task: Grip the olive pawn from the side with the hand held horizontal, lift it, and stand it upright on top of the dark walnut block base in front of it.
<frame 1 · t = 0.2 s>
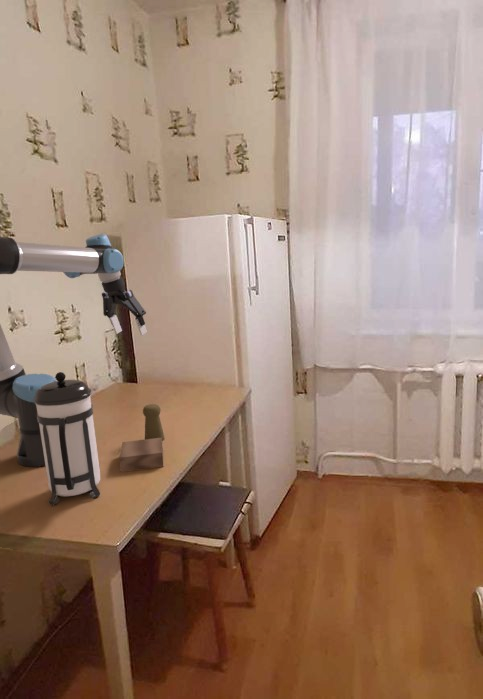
hand: (131, 332, 186), 27 cm above the table, tool tilted 15°, fingers open, 13 cm apart
walnut base: (142, 460, 138), on the table
coffee press: (77, 494, 121), on the table
olive pawn: (154, 440, 153), on the table
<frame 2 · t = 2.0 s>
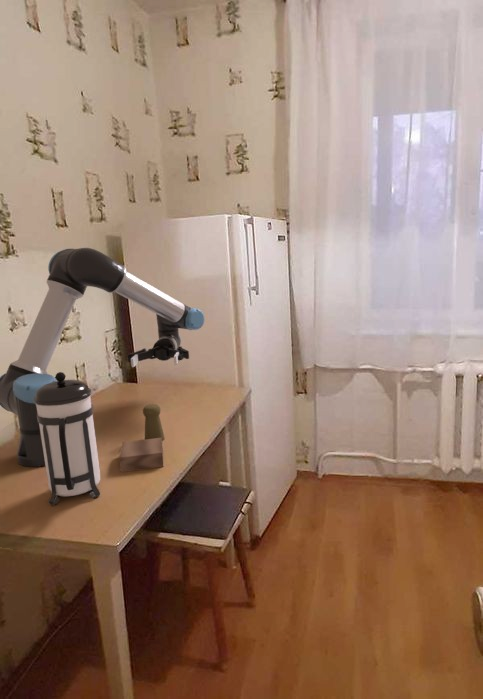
hand: (153, 361, 158), 22 cm above the table, tool horizontal, fingers open, 13 cm apart
nothing on the table moved.
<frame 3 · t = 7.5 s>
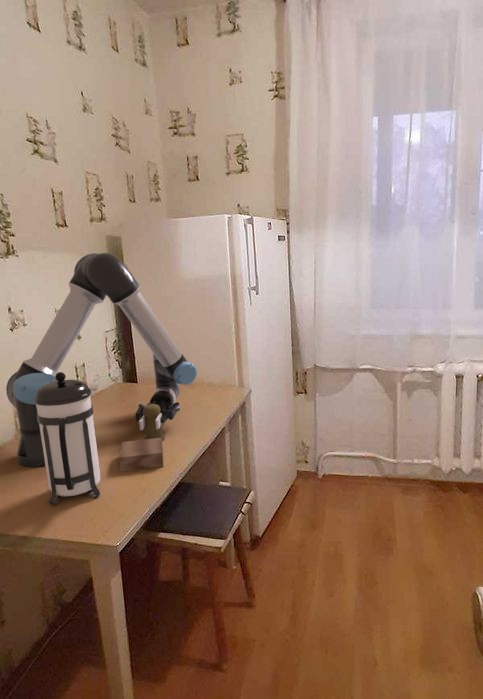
hand: (149, 425, 146), 7 cm above the table, tool horizontal, fingers closed on olive pawn, 4 cm apart
olive pawn: (154, 440, 153), on the table, touching gripper
everything else where it was.
when the fingers open (12 cm above the table, at t = 11.6 s): olive pawn drops 2 cm, resting on walnut base.
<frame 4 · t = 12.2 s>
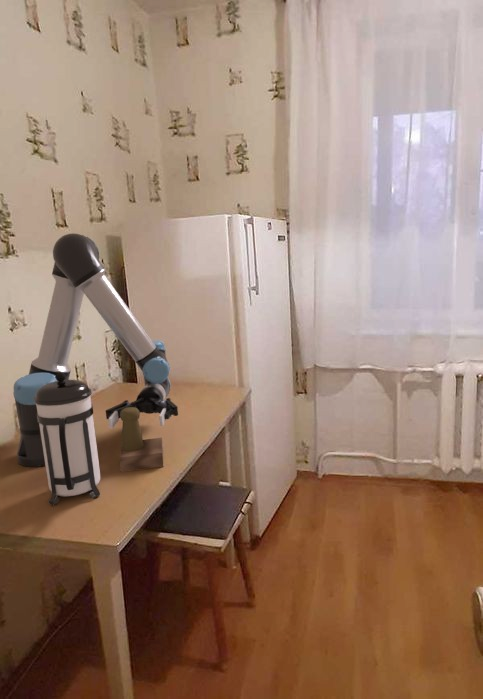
hand: (135, 422, 132), 12 cm above the table, tool horizontal, fingers open, 13 cm apart
olive pawn: (132, 447, 138), point 4 cm above the table, touching walnut base
everything else where it was.
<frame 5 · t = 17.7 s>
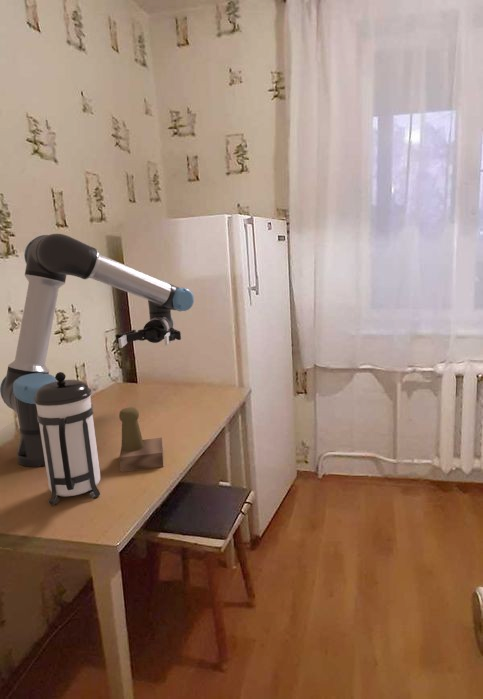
hand: (142, 342, 148), 30 cm above the table, tool horizontal, fingers open, 13 cm apart
nothing on the table moved.
at the end: olive pawn inside the target area on the walnut base (2.5 cm from its centre), point 3.8 cm above the walnut base's base; olive pawn tilted 0°; the gripper is holding nothing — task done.
